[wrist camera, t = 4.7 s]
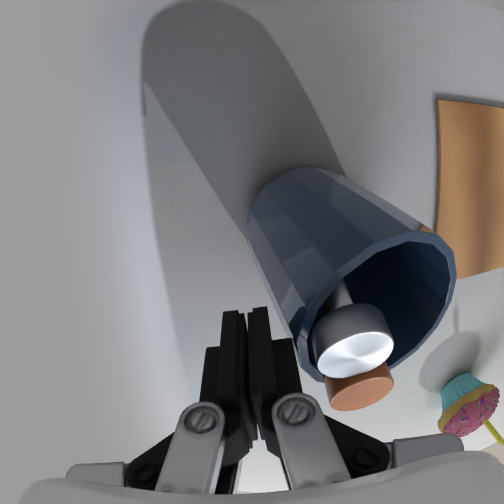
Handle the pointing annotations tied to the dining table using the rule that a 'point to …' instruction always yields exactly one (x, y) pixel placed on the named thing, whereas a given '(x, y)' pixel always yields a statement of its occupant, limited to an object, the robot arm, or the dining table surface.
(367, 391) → the tan cylinder
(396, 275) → the cup
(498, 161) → the placemat
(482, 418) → the cupcake
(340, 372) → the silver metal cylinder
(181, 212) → the dining table surface
